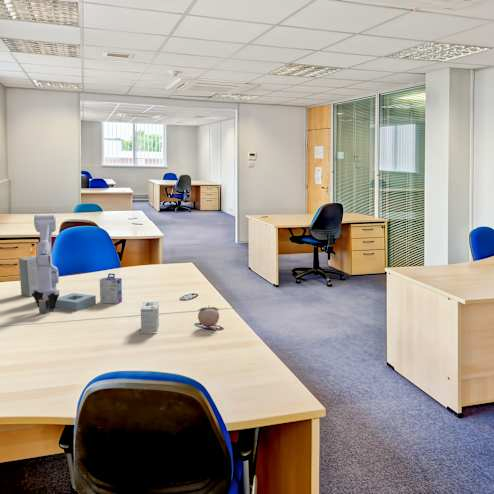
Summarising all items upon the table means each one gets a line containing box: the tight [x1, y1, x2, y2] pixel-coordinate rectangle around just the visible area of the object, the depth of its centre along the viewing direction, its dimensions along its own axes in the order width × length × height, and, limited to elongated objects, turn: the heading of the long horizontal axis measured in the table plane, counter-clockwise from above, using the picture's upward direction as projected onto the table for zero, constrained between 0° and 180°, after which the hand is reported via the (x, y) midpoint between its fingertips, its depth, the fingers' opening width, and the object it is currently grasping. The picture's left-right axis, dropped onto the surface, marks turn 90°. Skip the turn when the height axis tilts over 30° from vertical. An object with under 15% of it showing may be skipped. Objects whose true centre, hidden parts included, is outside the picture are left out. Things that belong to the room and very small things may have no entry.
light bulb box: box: [140, 301, 160, 334], centre depth 219 cm, size 11×7×11 cm, turn 5°
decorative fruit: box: [197, 306, 220, 328], centre depth 222 cm, size 9×8×10 cm
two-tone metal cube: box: [38, 297, 55, 315], centre depth 244 cm, size 4×5×6 cm
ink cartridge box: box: [99, 273, 123, 305], centre depth 262 cm, size 10×6×14 cm, turn 79°
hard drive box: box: [18, 255, 54, 298], centre depth 278 cm, size 16×8×20 cm, turn 144°
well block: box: [54, 292, 97, 312], centre depth 255 cm, size 14×14×4 cm
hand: (46, 307), depth 244 cm, fingers open, 7 cm apart
